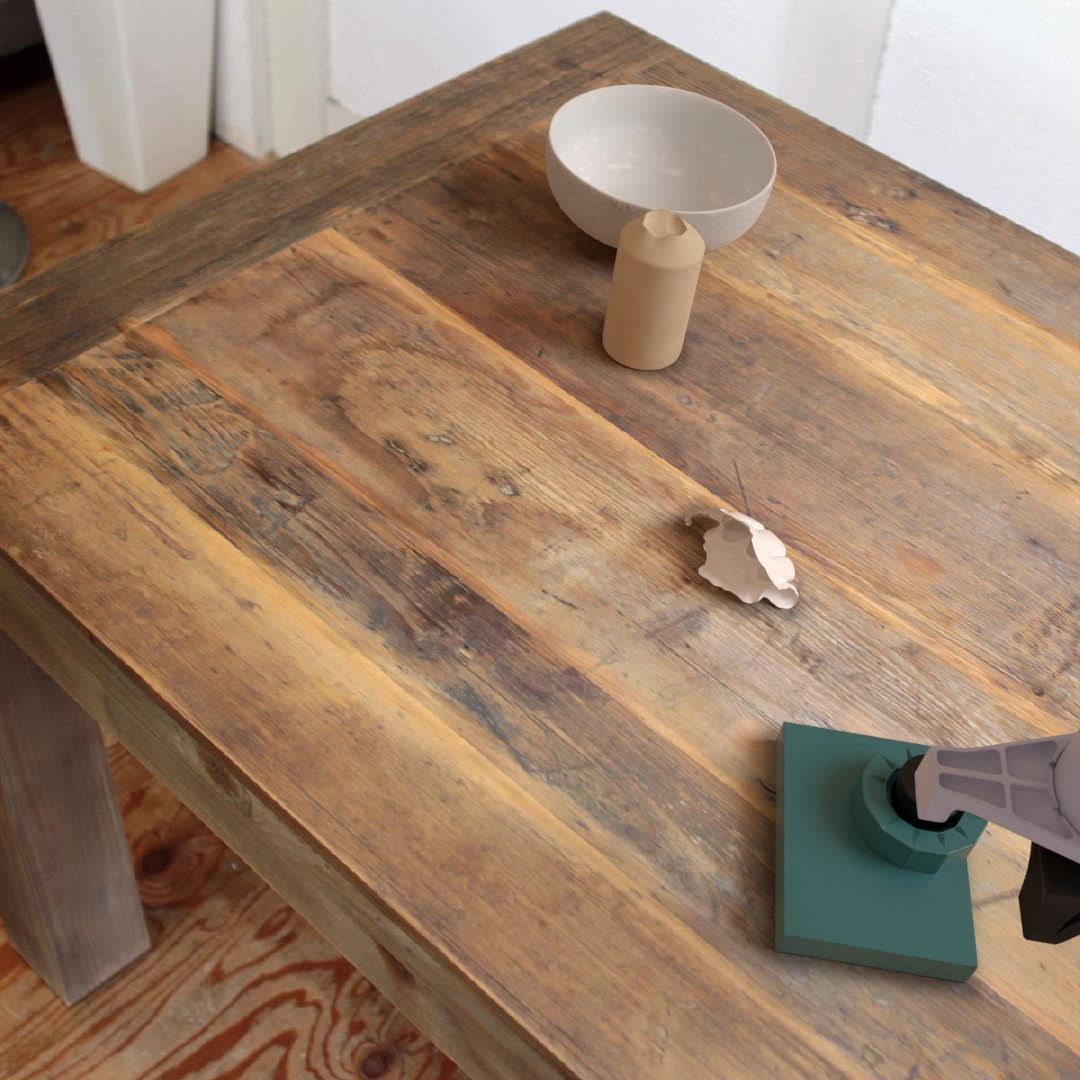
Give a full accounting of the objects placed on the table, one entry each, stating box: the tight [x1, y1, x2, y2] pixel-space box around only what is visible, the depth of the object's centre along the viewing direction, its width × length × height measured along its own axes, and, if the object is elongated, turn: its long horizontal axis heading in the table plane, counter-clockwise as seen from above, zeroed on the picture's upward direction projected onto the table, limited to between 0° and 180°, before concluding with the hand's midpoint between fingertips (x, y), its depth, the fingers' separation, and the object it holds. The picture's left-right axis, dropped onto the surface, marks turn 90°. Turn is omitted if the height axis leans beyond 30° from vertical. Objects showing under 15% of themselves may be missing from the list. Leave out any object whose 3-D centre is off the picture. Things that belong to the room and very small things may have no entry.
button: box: [890, 754, 958, 830], centre depth 64 cm, size 3×3×2 cm
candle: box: [602, 209, 705, 371], centre depth 88 cm, size 6×6×10 cm
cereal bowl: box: [544, 83, 778, 255], centre depth 99 cm, size 17×17×7 cm
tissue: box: [681, 507, 800, 610], centre depth 77 cm, size 6×8×4 cm
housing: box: [774, 721, 989, 984], centre depth 65 cm, size 12×10×4 cm
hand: (1037, 919), depth 54 cm, fingers closed
